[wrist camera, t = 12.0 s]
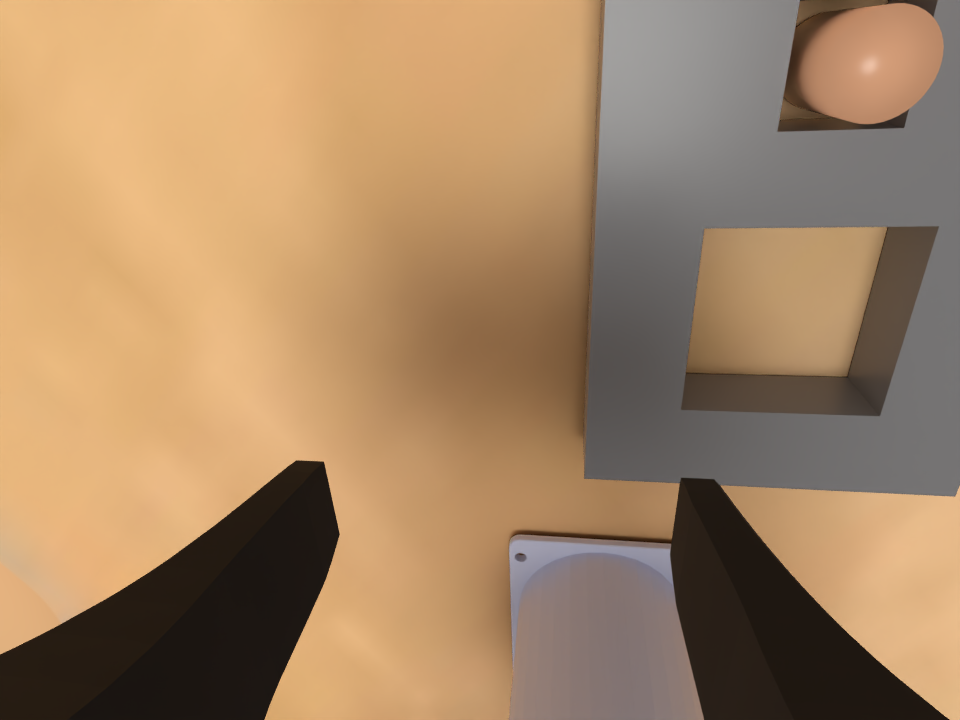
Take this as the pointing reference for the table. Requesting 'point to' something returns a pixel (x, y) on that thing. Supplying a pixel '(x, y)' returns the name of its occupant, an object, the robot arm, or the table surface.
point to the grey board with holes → (765, 204)
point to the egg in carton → (864, 62)
